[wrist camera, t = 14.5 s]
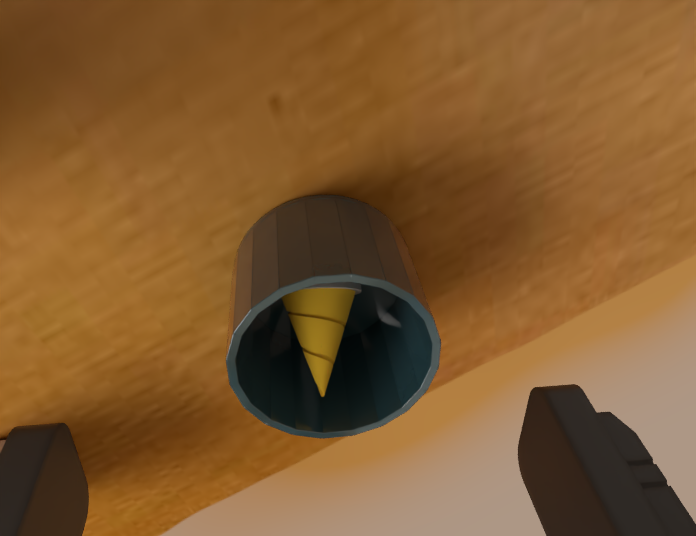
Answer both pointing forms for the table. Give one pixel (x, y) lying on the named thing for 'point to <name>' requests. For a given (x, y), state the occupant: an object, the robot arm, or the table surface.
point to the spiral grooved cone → (321, 323)
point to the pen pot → (359, 332)
